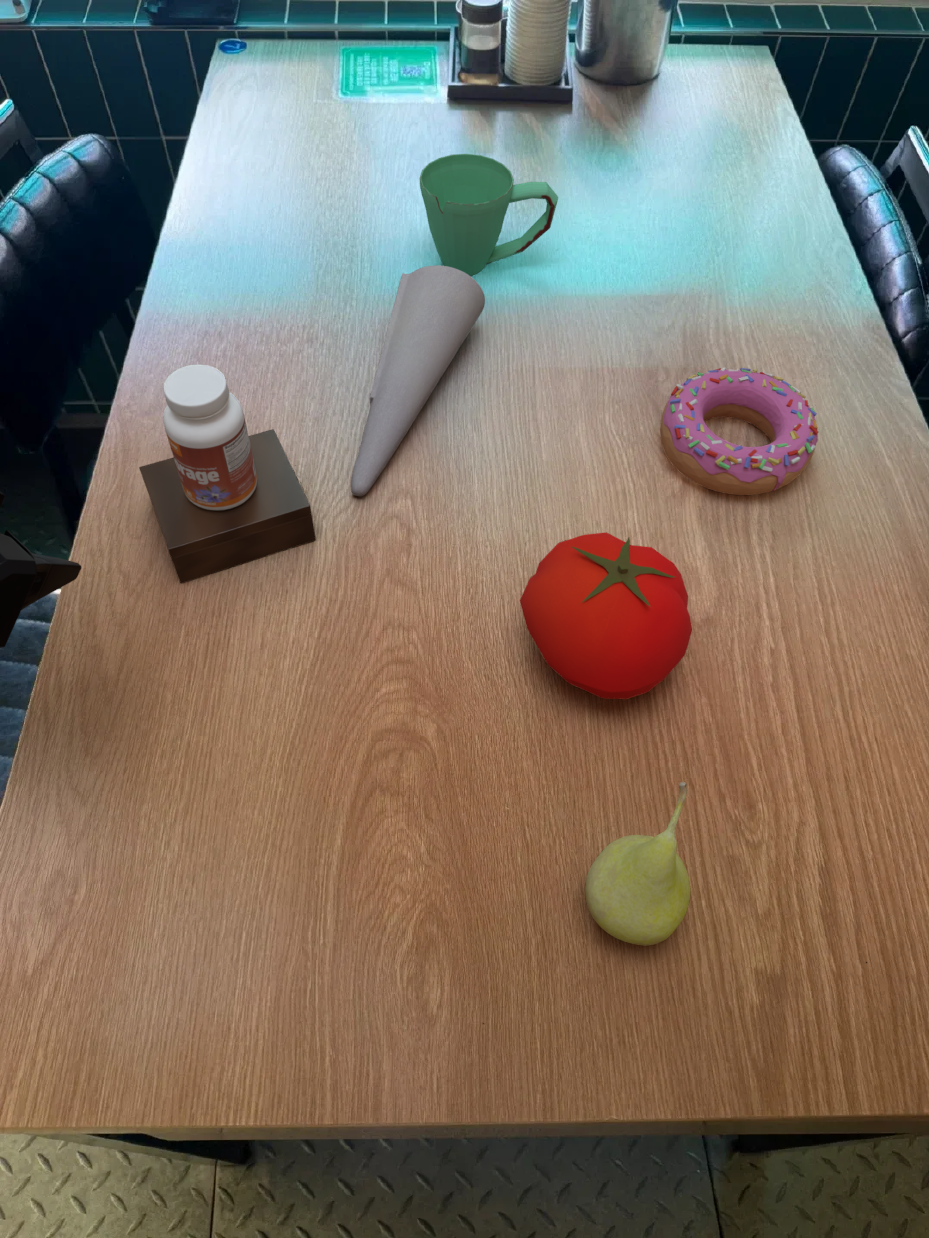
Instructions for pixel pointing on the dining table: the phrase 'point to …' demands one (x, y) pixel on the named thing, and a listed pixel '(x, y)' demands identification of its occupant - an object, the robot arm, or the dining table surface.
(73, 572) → the robot arm
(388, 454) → the grey tapered cone
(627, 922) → the fruit
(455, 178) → the mug
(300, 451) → the dining table surface
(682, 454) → the donut
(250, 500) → the dark wooden box
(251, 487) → the pill bottle
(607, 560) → the tomato
